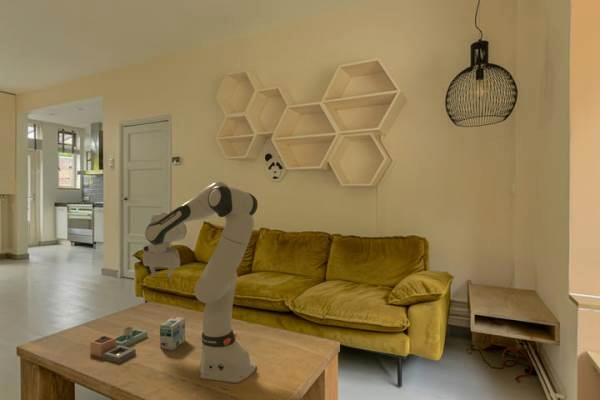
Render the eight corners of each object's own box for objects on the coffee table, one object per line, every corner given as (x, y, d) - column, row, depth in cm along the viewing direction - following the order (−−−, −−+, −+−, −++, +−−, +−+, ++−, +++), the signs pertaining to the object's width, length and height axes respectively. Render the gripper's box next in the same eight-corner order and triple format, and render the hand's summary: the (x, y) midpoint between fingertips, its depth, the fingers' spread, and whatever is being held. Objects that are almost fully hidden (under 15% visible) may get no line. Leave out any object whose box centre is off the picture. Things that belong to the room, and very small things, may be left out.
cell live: (134, 340, 155) (134, 326, 155) (127, 343, 152) (127, 329, 151) (128, 338, 156) (128, 325, 156) (122, 341, 153) (122, 327, 153)
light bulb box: (172, 350, 146) (172, 326, 146) (159, 349, 148) (159, 324, 148) (185, 340, 157) (185, 317, 157) (173, 338, 158) (173, 316, 158)
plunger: (127, 354, 141) (127, 352, 141) (117, 359, 136) (117, 357, 136) (119, 352, 142) (119, 350, 142) (110, 357, 138) (110, 355, 138)
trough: (147, 338, 159) (147, 331, 159) (121, 350, 146) (121, 343, 146) (135, 335, 162) (135, 328, 162) (108, 347, 149) (108, 340, 149)
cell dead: (109, 350, 144) (109, 336, 144) (102, 354, 141) (102, 339, 141) (104, 349, 145) (104, 334, 145) (96, 352, 142) (96, 337, 142)
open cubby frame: (116, 351, 145) (116, 338, 145) (101, 358, 139) (101, 344, 139) (105, 348, 148) (105, 335, 148) (90, 355, 141) (90, 341, 141)
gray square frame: (135, 356, 141) (135, 349, 141) (118, 365, 134) (118, 357, 134) (119, 351, 145) (119, 344, 145) (101, 360, 138) (101, 352, 138)
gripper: (182, 247, 157) (183, 276, 157) (150, 245, 165) (151, 273, 165) (172, 249, 151) (173, 279, 152) (139, 247, 159) (140, 276, 159)
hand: (161, 276), depth 158 cm, fingers open, 8 cm apart
